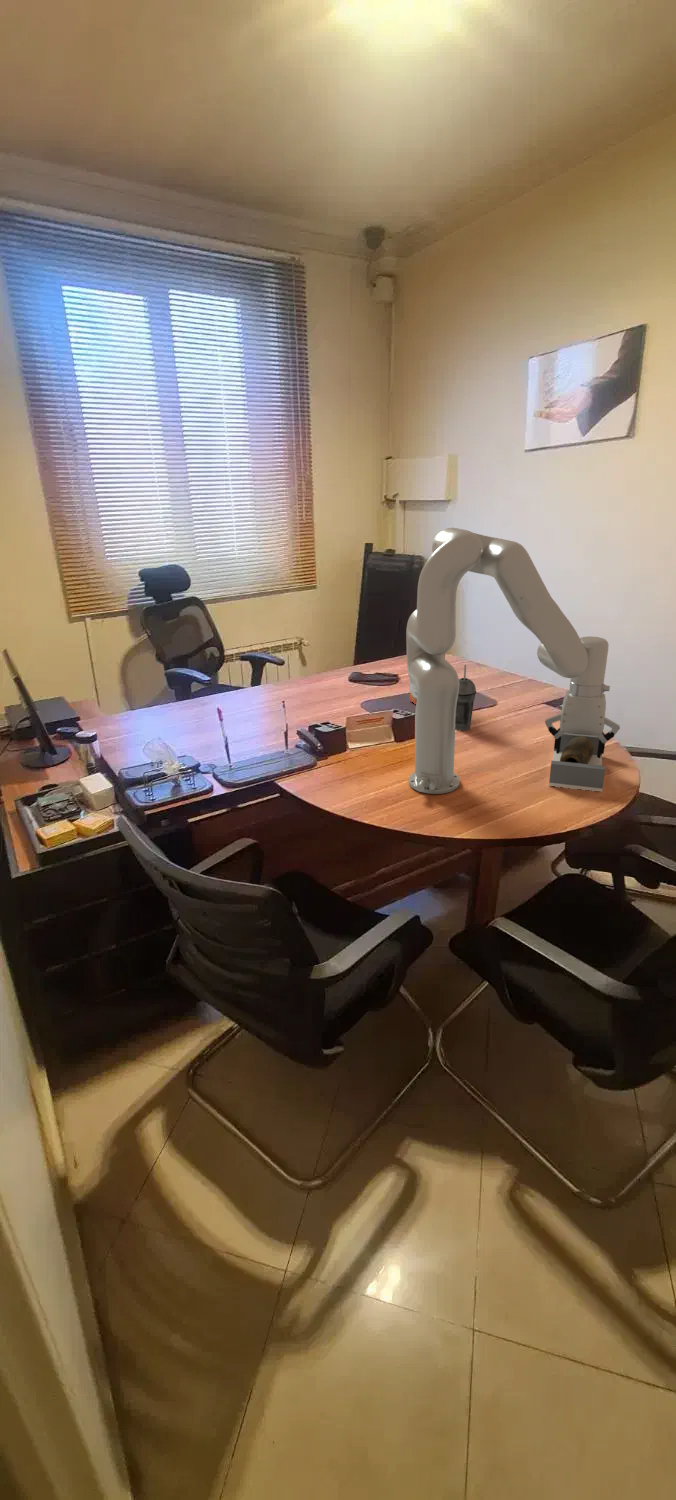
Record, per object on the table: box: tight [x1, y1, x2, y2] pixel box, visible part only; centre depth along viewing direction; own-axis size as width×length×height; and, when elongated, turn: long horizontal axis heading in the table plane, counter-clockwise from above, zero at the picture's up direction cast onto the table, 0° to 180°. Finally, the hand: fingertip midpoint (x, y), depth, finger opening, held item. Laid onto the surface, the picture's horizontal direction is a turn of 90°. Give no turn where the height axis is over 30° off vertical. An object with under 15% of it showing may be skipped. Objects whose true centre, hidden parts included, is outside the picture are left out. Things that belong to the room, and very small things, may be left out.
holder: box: [548, 733, 606, 793], centre depth 159 cm, size 22×12×6 cm, turn 159°
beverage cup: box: [455, 664, 477, 732], centre depth 186 cm, size 7×7×20 cm
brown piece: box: [560, 736, 594, 764], centre depth 158 cm, size 15×7×7 cm, turn 154°
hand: (578, 753), depth 158 cm, fingers open, 9 cm apart
